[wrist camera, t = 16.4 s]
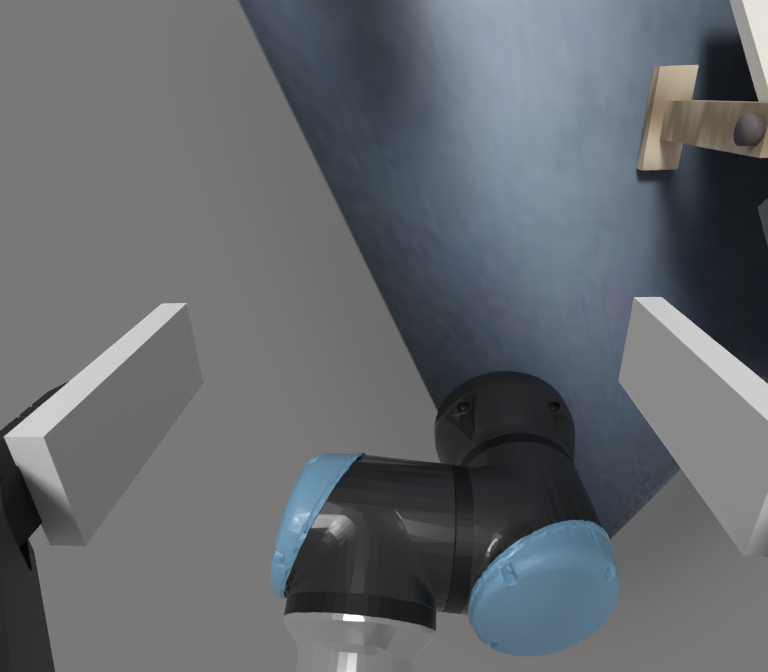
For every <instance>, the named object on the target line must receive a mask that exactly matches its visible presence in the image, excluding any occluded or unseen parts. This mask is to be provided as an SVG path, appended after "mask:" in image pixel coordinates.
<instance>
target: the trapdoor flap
mask: <svg viewBox="0 0 768 672" xmlns="http://www.w3.org/2000/svg"><path fill="white" fill-rule="evenodd" d="M730 3H731V7H732V10H733V14H734V17H735V21H736V24H737V28H738V31H739V35H740V38H741V42H742V45H743V49H744V52H745V56H746V59H747V63H748V67H749V70H750V74H751V77H752V81H753V84H754V88H755V91H756V95H757V98H758V102H768V0H730ZM757 208H758V211H759V215H760V219H761V223H762V227H763V231H764V234H765V238H766V242H767V246H768V198H767V199H766V200H765V201H764V202H763V203H762V204H761V205H759V206H758V207H757Z"/></svg>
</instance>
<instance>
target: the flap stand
mask: <svg viewBox="0 0 768 672" xmlns="http://www.w3.org/2000/svg"><path fill="white" fill-rule="evenodd" d="M698 67H699V65H681V66H659V67H654V68H653V74H652V80H651V86H650V92H649V98H648V104H647V109H646V115H645V121H644V127H643V133H642V139H641V145H640V151H639V157H638V163H637V168H636V169H639V170H676V169H678V165H679V160H680V155H681V150H682V146H683V144H687V145H693V146H698V147H703V148H709V149H714V150H720V151H725V152H730V153H736V154H741V155H746V156H752V157H757V158H768V102H748V101H708V100H692V96H693V91H694V86H695V81H696V76H697V71H698Z"/></svg>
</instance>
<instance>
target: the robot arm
mask: <svg viewBox="0 0 768 672" xmlns="http://www.w3.org/2000/svg"><path fill="white" fill-rule="evenodd" d="M618 381H619V382H620V384H621V385H622V387H623V388H624V389H625V391H626V392H627V394H628V395H629V396H630V398H631V399H632V401H633V402H634V403H635V405H636V406H637V408H638V409H639V410H640V412H641V413H642V414H643V416H644V417H645V419H646V420H647V421H648V423H649V424H650V426H651V427H652V428H653V430H654V431H655V433H656V434H657V435H658V437H659V438H660V440H661V441H662V442H663V444H664V445H665V447H666V448H667V449H668V451H669V452H670V454H671V455H672V456H673V458H674V459H675V461H676V462H677V463H678V465H679V466H680V468H681V469H682V470H683V472H684V473H685V474H686V476H687V477H688V478H689V480H690V481H691V483H692V484H693V486H694V487H695V488H696V490H697V491H698V492H699V494H700V495H701V497H702V498H703V500H704V501H705V502H706V504H707V505H708V507H709V508H710V509H711V511H712V512H713V513H714V515H715V516H716V518H717V519H718V521H719V522H720V523H721V525H722V526H723V528H724V529H725V530H726V532H727V533H728V535H729V536H730V537H731V539H732V540H733V541H734V543H735V544H736V546H737V547H738V548H739V550H740V551H741V553H742V554H743V555H744V556H767V557H768V377H759V376H758V375H756V374H755V373H754V372H753V371H751V370H750V369H749V368H748V367H747V366H745V365H744V364H743V363H742V362H740V361H739V360H738V359H737V358H736V357H734V356H733V355H732V354H731V353H729V352H728V351H727V350H726V349H725V348H723V347H722V346H721V345H720V344H718V343H717V342H716V341H715V340H714V339H712V338H711V337H710V336H709V335H707V334H706V333H705V332H704V331H703V330H701V329H700V328H699V327H698V326H696V325H695V324H694V323H693V322H692V321H690V320H689V319H688V318H687V317H685V316H684V315H683V314H682V313H681V312H679V311H678V310H677V309H676V308H674V307H673V306H672V305H671V304H670V303H668V302H667V301H666V300H665V299H663V298H662V297H634V300H633V305H632V311H631V316H630V321H629V327H628V332H627V337H626V343H625V348H624V353H623V359H622V364H621V369H620V375H619V380H618ZM202 384H203V378H202V373H201V368H200V364H199V359H198V355H197V350H196V345H195V340H194V336H193V331H192V326H191V321H190V317H189V312H188V307H187V304H186V303H181V304H180V303H177V304H161V305H160V306H159V307H157V308H156V309H155V310H154V311H153V312H151V313H150V314H149V315H148V316H147V317H146V318H144V319H143V320H142V321H141V322H140V323H138V324H137V325H136V326H135V327H134V328H133V329H131V330H130V331H129V332H128V333H127V334H125V335H124V336H123V337H122V338H121V339H119V340H118V341H117V342H116V343H115V344H114V345H112V346H111V347H110V348H109V349H107V350H106V351H105V352H104V353H103V354H102V355H100V356H99V357H98V358H97V359H96V360H94V361H93V362H92V363H91V364H90V365H88V366H87V367H86V368H85V369H84V370H83V371H81V372H80V373H79V374H78V375H77V376H75V377H74V378H73V379H72V380H71V381H68V382H66V383H64V384H63V385H60V386H58V387H57V388H55V389H53V390H51V391H49V392H47V393H46V394H45V395H43V396H42V397H41V398H40V399H39V400H37V401H36V402H35V403H34V404H32V407H29V408H27V409H26V410H25V411H24V412H23V413H21V414H20V417H19V418H15V419H14V420H13V421H12V422H11V423H9V424H8V425H7V426H6V427H4V428H3V429H2V430H1V431H0V672H55V669H54V663H53V658H52V652H51V646H50V641H49V636H48V629H47V623H46V618H45V612H44V606H43V601H42V595H41V589H40V584H39V578H38V572H37V566H36V560H35V555H34V550H33V548H32V546H31V544H30V542H29V539H28V538H29V537H30V536H31V535H32V534H33V532H34V531H35V530H36V529H37V528H38V527H39V525H40V524H41V525H42V527H43V529H44V532H45V534H46V536H47V539H48V541H49V543H50V545H69V546H70V545H71V546H86V545H87V543H88V542H89V540H90V539H91V538H92V536H93V535H94V534H95V532H96V531H97V529H98V528H99V527H100V525H101V524H102V522H103V521H104V520H105V518H106V517H107V515H108V514H109V513H110V511H111V510H112V509H113V507H114V505H115V504H116V503H117V501H118V500H119V499H120V497H121V496H122V495H123V493H124V492H125V491H126V489H127V488H128V486H129V485H130V484H131V482H132V481H133V479H134V478H135V477H136V475H137V474H138V473H139V471H140V470H141V468H142V467H143V466H144V464H145V463H146V461H147V460H148V459H149V457H150V456H151V455H152V453H153V452H154V450H155V449H156V447H157V446H158V445H159V443H160V442H161V441H162V439H163V438H164V437H165V435H166V434H167V432H168V431H169V430H170V428H171V427H172V425H173V424H174V423H175V421H176V420H177V419H178V417H179V416H180V414H181V413H182V411H183V410H184V409H185V407H186V406H187V405H188V403H189V402H190V400H191V399H192V398H193V396H194V395H195V394H196V392H197V391H198V389H199V388H200V387H201V385H202ZM435 445H436V450H437V454H438V457H439V459H440V462H441V463H433V462H423V461H413V460H405V459H396V458H387V457H379V456H370V455H366V454H364V453H357V454H335V453H324V454H319V455H317V456H315V457H313V458H312V459H311V460H310V461H308V462H307V464H306V465H305V466H304V468H303V469H302V471H301V472H300V474H299V476H298V478H297V480H296V482H295V484H294V487H293V489H292V491H291V494H290V497H289V499H288V502H287V505H286V508H285V511H284V514H283V517H282V521H281V524H280V528H279V531H278V536H277V540H276V544H275V548H276V552H275V554H274V559H273V562H272V565H271V573H270V585H271V588H272V590H273V592H274V593H276V594H278V595H279V597H281V598H286V597H287V602H286V608H285V614H284V620H283V621H284V624H285V625H286V627H287V628H288V630H289V632H290V633H291V635H292V637H293V638H294V640H295V641H296V643H297V647H298V650H299V653H298V659H297V666H296V672H414V663H415V661H416V659H417V657H418V655H419V654H420V653H421V652H422V651H423V650H424V649H425V648H426V647H427V646H428V645H429V644H430V643H431V642H432V641H433V639H434V638H435V636H436V612H447V613H457V614H466V615H468V617H469V623H470V624H471V626H472V627H473V629H474V631H475V633H476V635H477V636H478V638H479V639H480V640H481V641H482V642H484V643H485V644H490V646H491V648H493V649H494V650H496V651H498V652H501V653H504V654H509V655H514V656H541V655H547V654H552V653H555V652H559V651H562V650H565V649H567V648H570V647H572V646H575V645H577V644H578V643H579V642H581V641H582V640H584V639H586V638H588V637H590V636H591V635H593V634H594V633H595V632H596V631H598V630H599V629H600V628H601V627H602V626H603V625H604V624H605V623H606V621H607V620H608V619H609V618H610V616H611V615H612V613H613V612H614V610H615V607H616V605H617V603H618V600H619V596H620V589H621V582H620V575H619V571H618V568H617V565H616V561H615V558H614V555H613V552H612V549H611V544H610V539H609V536H608V535H607V533H606V532H605V530H604V529H603V528H602V525H601V523H600V521H599V519H598V517H597V514H596V512H595V510H594V508H593V505H592V503H591V501H590V499H589V497H588V494H587V492H586V490H585V488H584V485H583V483H582V481H581V479H580V476H579V474H578V472H577V470H576V468H575V466H574V448H575V427H574V422H573V419H572V416H571V414H570V412H569V410H568V408H567V406H566V404H565V402H564V400H563V398H562V397H561V396H560V394H559V393H558V392H557V391H556V390H555V389H554V388H553V387H552V386H550V385H549V384H548V383H546V382H545V381H543V380H541V379H539V378H537V377H534V376H532V375H528V374H524V373H519V372H508V371H505V372H494V373H488V374H484V375H481V376H478V377H475V378H473V379H471V380H469V381H467V382H465V383H464V384H462V385H460V386H459V387H458V388H456V389H455V390H454V391H453V392H452V393H451V394H450V395H449V396H448V397H447V398H446V400H445V401H444V402H443V404H442V405H441V407H440V409H439V411H438V414H437V417H436V421H435Z"/></svg>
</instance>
